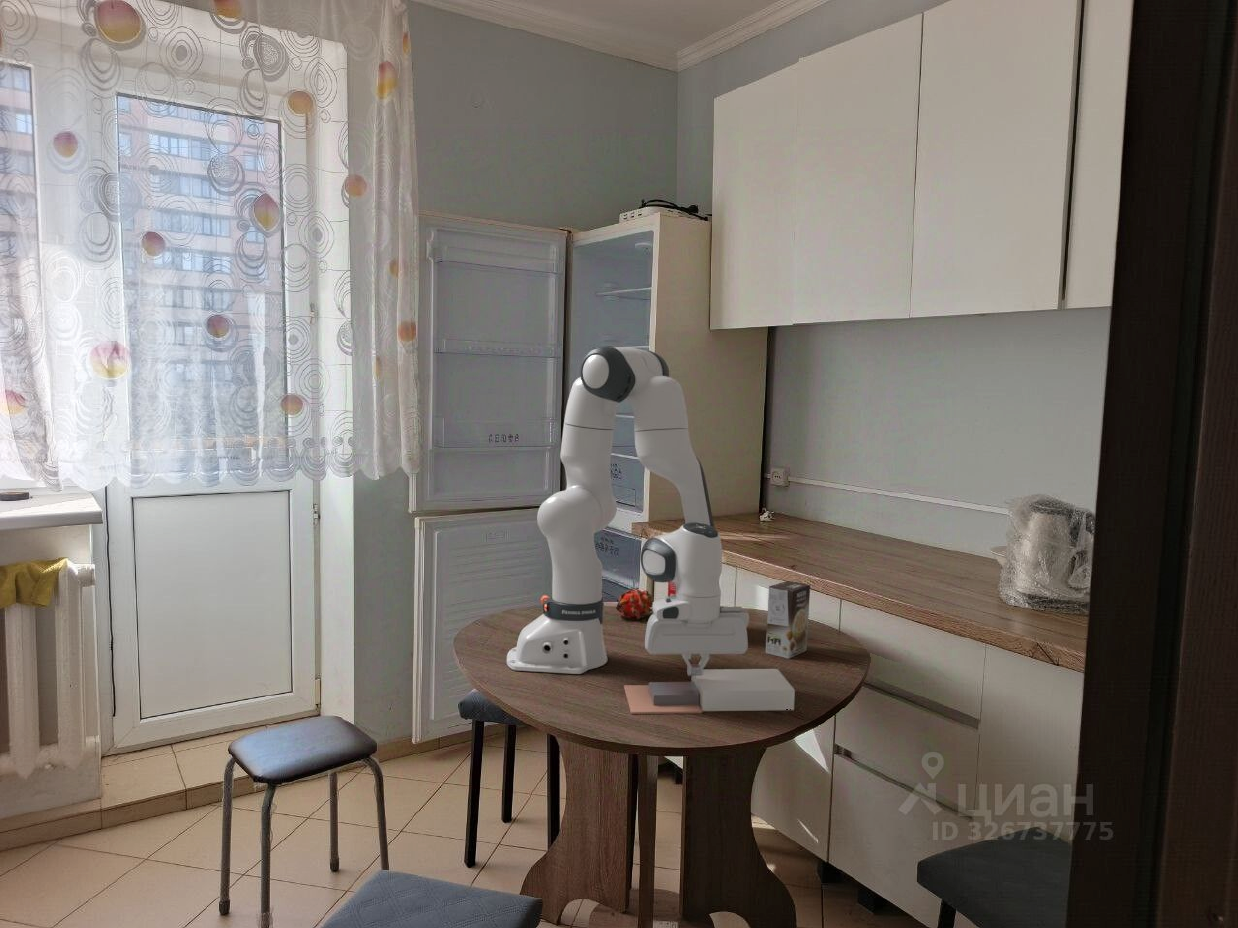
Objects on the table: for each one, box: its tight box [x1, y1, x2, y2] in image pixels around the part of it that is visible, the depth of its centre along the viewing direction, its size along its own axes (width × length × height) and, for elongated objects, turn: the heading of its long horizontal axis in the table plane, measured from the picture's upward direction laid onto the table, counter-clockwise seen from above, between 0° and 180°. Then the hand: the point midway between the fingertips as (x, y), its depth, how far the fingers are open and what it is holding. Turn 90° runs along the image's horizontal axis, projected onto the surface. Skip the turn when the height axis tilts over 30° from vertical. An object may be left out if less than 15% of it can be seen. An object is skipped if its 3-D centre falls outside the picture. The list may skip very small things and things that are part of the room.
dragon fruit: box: [615, 587, 654, 620], centre depth 223 cm, size 8×8×12 cm
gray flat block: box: [648, 681, 700, 705], centre depth 165 cm, size 9×7×2 cm
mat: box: [623, 684, 703, 715], centre depth 165 cm, size 14×14×1 cm
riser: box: [690, 668, 796, 712], centre depth 167 cm, size 18×12×4 cm, turn 95°
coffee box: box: [765, 580, 811, 660], centre depth 196 cm, size 9×6×16 cm
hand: (695, 674), depth 165 cm, fingers closed
